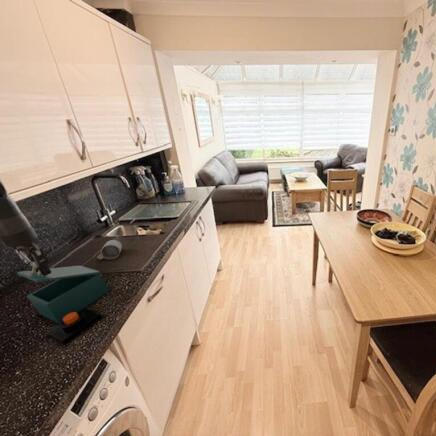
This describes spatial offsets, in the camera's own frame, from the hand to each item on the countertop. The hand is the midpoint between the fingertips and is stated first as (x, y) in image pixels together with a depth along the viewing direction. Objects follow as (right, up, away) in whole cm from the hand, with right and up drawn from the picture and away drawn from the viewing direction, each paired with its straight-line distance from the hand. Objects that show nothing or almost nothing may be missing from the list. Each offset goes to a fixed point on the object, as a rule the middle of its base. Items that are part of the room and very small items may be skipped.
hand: (43, 272), depth 81 cm
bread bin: (+2, -14, +10) cm, 17 cm away
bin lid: (+2, -2, +5) cm, 5 cm away
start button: (+12, -15, -2) cm, 19 cm away
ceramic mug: (-6, -1, +39) cm, 39 cm away
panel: (+12, -18, -1) cm, 22 cm away
